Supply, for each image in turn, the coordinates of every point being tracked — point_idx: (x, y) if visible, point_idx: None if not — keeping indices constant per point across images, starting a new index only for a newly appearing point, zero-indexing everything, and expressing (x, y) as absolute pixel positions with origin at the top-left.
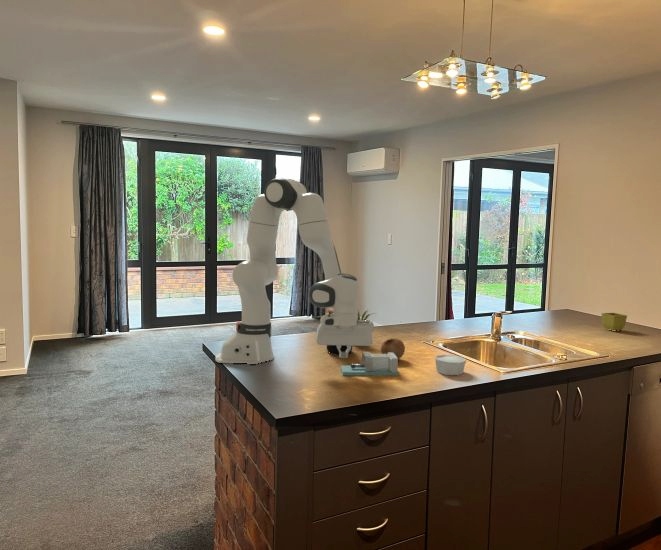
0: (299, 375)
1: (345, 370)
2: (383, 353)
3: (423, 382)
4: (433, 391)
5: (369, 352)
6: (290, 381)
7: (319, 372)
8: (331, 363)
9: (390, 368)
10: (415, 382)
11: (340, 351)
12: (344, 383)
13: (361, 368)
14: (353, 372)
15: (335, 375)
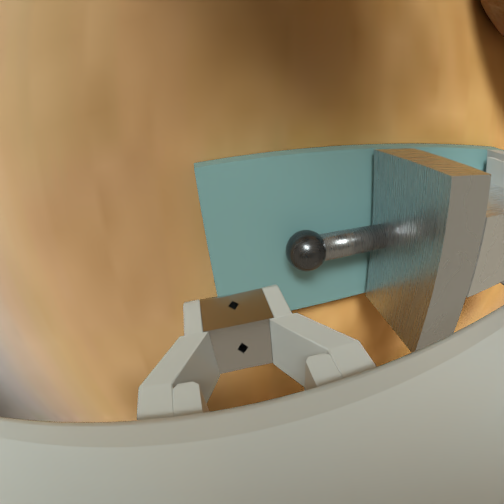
0: (5, 336)
1: (240, 288)
2: (500, 5)
3: (496, 301)
4: None
5: (487, 204)
6: (22, 396)
7: (64, 277)
8: (113, 29)
9: None
10: (482, 309)
11: (207, 390)
12: (236, 399)
13: (357, 222)
14: (293, 307)
15: (174, 315)
